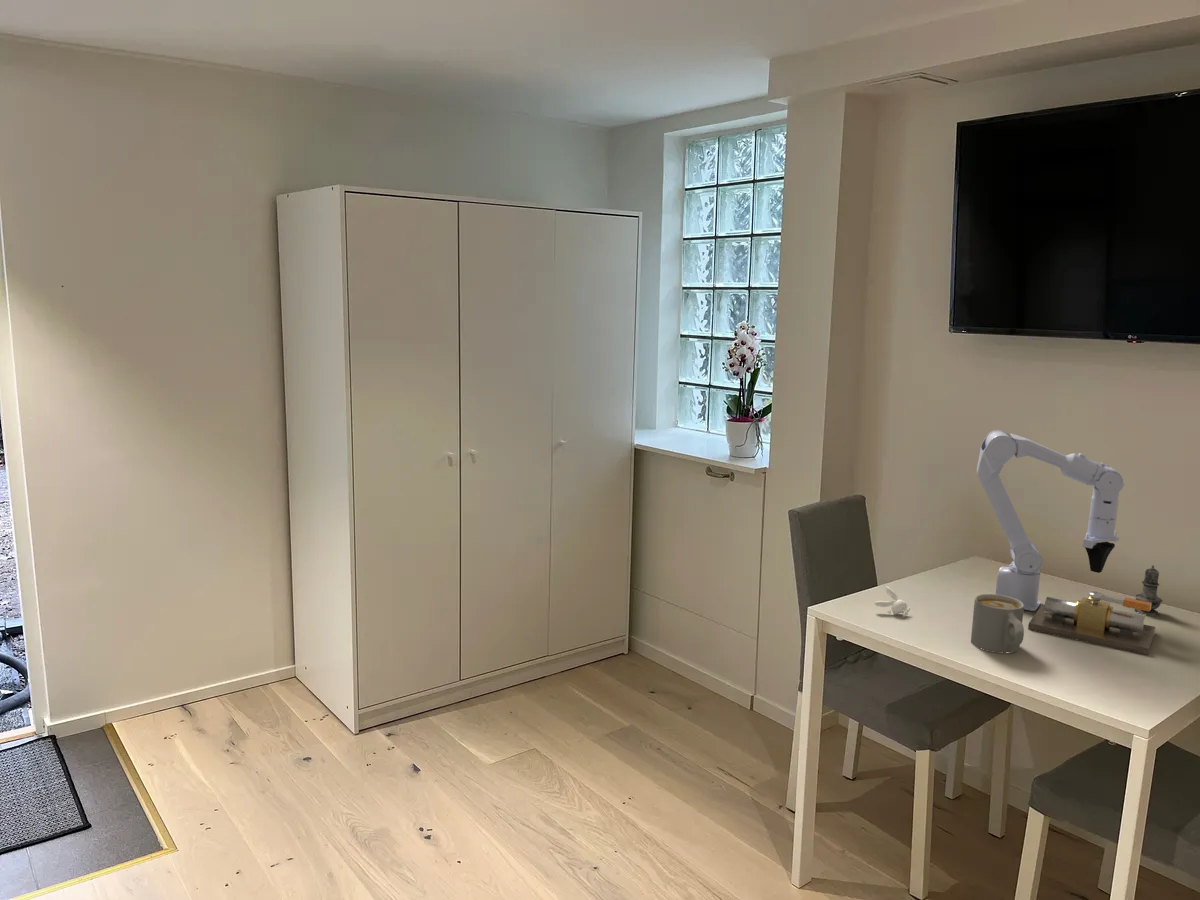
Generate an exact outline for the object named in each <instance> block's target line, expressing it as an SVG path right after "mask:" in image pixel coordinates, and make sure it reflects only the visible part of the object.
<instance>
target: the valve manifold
mask: <svg viewBox="0 0 1200 900" xmlns="http://www.w3.org/2000/svg"><path fill="white" fill-rule="evenodd" d="M1145 617H1146V615H1143V614H1139V613H1137V614H1136V613H1133V612H1132V613H1131V612H1127V611H1123V610H1122V611H1121V610H1117V609H1114V607H1113V606H1112V605H1111V602H1107V601H1102V600H1100V601H1097V600H1092V599H1089V598H1087V597H1082V598H1081V600H1079V599H1078V600H1076V601H1072V600H1071V601H1070V600H1065V599H1060V598H1055V597H1049V596H1046V598H1045V602H1044V603H1041V605H1040V606H1039V607H1038V610H1036V611H1035V614H1034V615H1033V617H1032V618H1031V619H1030V620H1029V622H1028V627H1027V630H1029V629H1031V630H1030V631H1034V630H1036V631H1035V632H1039V631H1040V633H1043V632H1045V633H1044V634H1048V633H1050V634H1049V635H1053V634H1055V635H1054V636H1057V635H1059V636H1058V637H1062V636H1063V638H1067V637H1068V638H1067V639H1071V640H1076V639H1077V641H1081V642H1086V643H1090V644H1094V643H1095V645H1098V646H1099V645H1100V646H1105V647H1108V648H1114V649H1118V650H1122V651H1123V650H1124V651H1128V652H1133V653H1136V654H1141V655H1145V656H1148V654H1149V651H1150V649H1151V646H1152V642H1153V639H1154V636H1155V633H1156V626H1153V625H1149V624H1145Z"/></svg>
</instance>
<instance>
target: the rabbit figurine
mask: <svg viewBox="0 0 1200 900" xmlns="http://www.w3.org/2000/svg"><path fill="white" fill-rule="evenodd" d="M885 592H886V594H887V595H888V596H889V597H890V598H891V601H890V600H889V601H888V600H885V601H884V600H876V601H874V605H875V606H876V607H881V608H885V607H890V606H891V609H890V610H888V611H887V613H888V612H889V613H891V612H892V613H893V614H895V615H899V614H902V617H903V618H906V616H908V615H909V612H910V611H911V607H910V606H908V604H907V602H906V601H904V600H903V599H898V594H896V593H895V592H894V590H893V589H892V588H891V587H889V586H887V585H885ZM892 600H894V601H892ZM890 611H891V612H890Z"/></svg>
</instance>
